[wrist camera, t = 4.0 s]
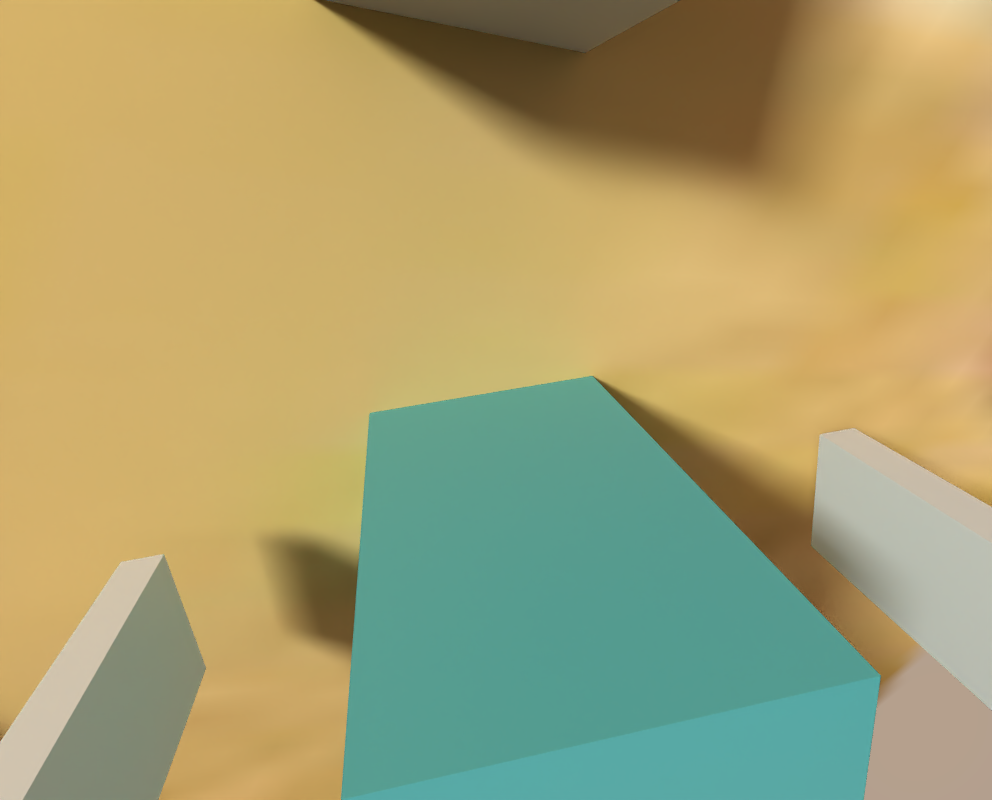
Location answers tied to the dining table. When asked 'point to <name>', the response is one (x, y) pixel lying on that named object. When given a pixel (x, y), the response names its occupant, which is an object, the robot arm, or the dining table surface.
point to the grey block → (529, 17)
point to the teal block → (579, 622)
